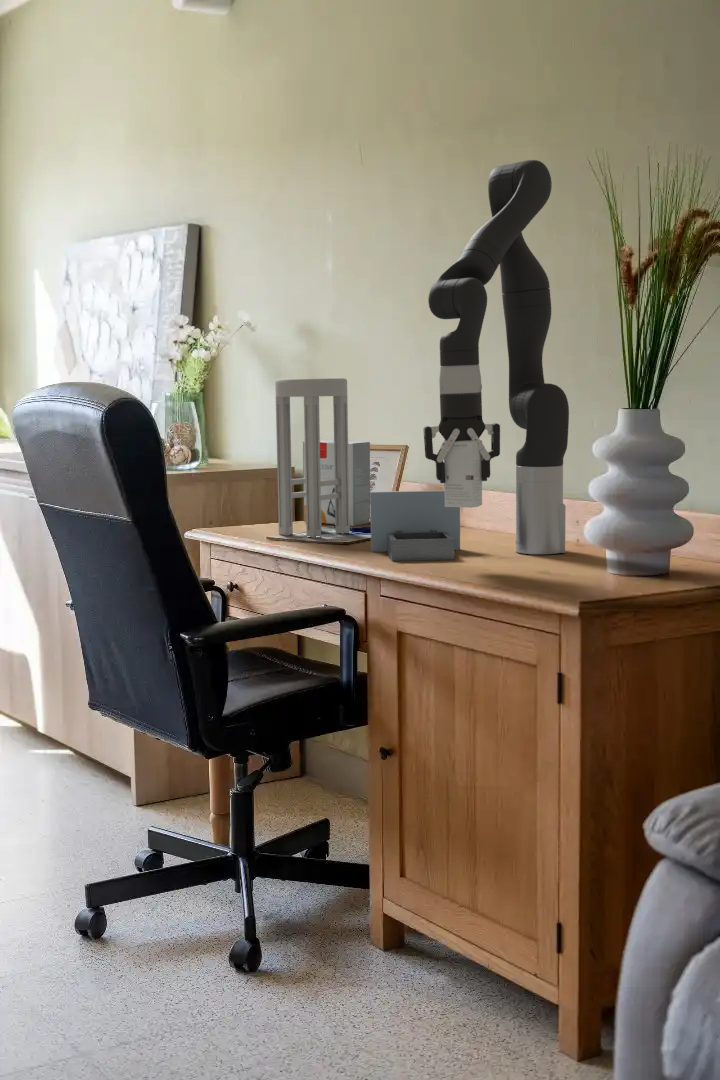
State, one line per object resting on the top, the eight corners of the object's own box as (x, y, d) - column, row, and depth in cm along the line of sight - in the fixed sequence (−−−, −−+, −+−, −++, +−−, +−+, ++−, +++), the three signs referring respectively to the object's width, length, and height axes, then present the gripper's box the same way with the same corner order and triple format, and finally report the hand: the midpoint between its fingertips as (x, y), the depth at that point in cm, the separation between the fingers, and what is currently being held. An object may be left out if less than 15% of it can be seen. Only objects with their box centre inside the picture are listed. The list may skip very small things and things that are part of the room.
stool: (362, 533, 295) (360, 377, 291) (313, 539, 284) (310, 378, 280) (314, 528, 306) (311, 378, 301) (265, 534, 294) (262, 379, 290)
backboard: (459, 548, 265) (458, 490, 264) (460, 549, 264) (459, 490, 262) (371, 550, 264) (370, 491, 263) (371, 551, 263) (370, 492, 261)
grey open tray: (445, 550, 264) (445, 529, 263) (454, 559, 249) (454, 537, 249) (386, 551, 263) (386, 530, 262) (391, 561, 249) (391, 539, 248)
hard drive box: (302, 522, 319) (300, 441, 316) (322, 519, 325) (320, 439, 322) (353, 526, 309) (351, 442, 307) (372, 523, 315) (371, 440, 313)
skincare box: (443, 507, 237) (441, 441, 236) (453, 504, 241) (451, 439, 240) (475, 508, 235) (472, 440, 233) (484, 505, 239) (482, 439, 237)
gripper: (496, 389, 239) (498, 478, 242) (418, 392, 239) (421, 482, 241) (503, 389, 232) (505, 481, 234) (423, 393, 231) (426, 485, 233)
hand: (463, 481), depth 237 cm, fingers closed on skincare box, 7 cm apart
